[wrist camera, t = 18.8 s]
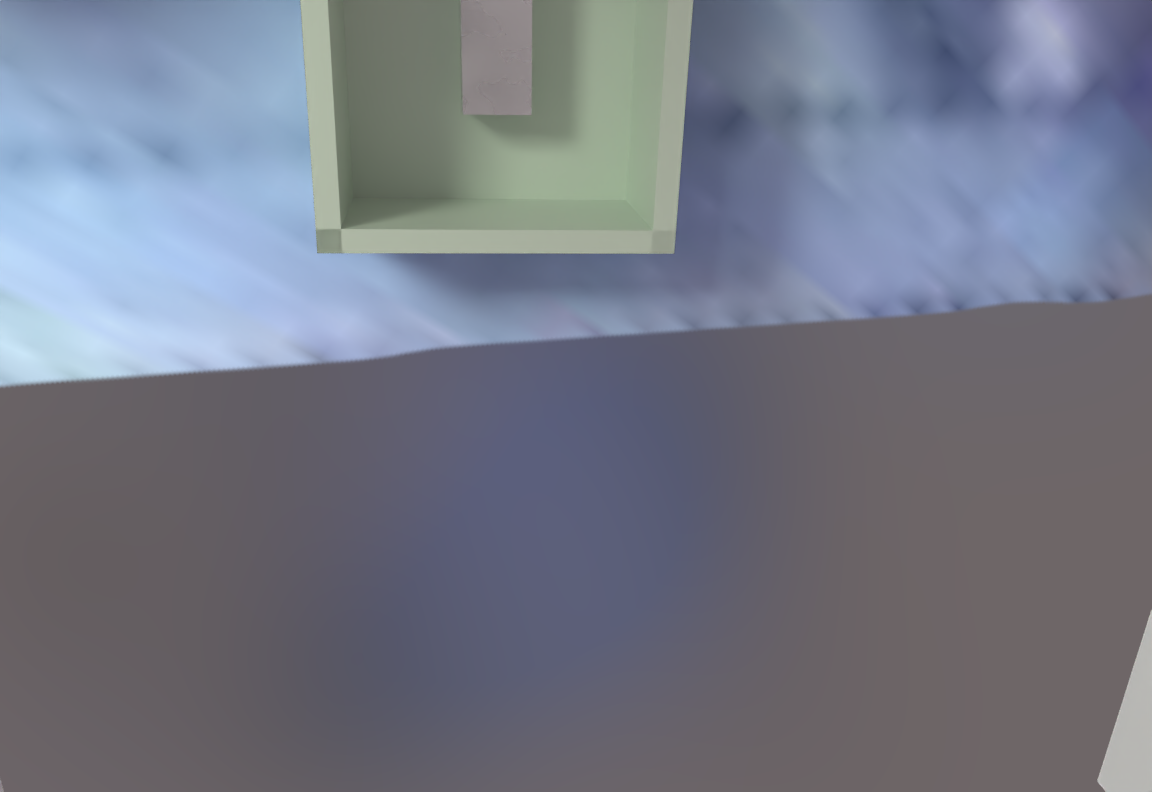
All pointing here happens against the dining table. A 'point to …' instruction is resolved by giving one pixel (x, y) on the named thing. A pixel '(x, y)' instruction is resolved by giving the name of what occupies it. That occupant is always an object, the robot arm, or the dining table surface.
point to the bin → (496, 130)
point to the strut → (496, 57)
